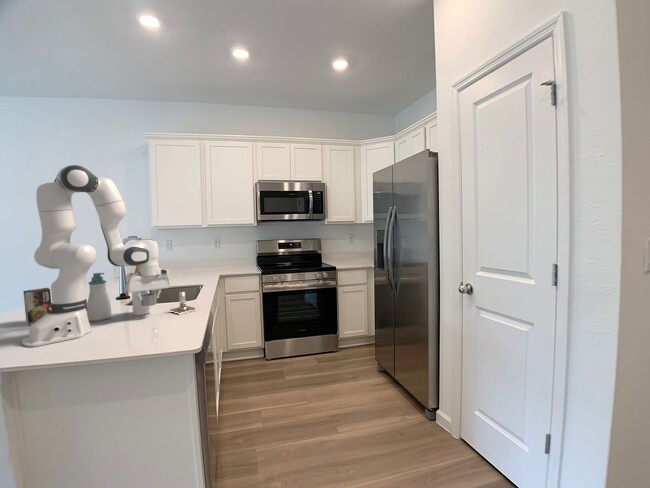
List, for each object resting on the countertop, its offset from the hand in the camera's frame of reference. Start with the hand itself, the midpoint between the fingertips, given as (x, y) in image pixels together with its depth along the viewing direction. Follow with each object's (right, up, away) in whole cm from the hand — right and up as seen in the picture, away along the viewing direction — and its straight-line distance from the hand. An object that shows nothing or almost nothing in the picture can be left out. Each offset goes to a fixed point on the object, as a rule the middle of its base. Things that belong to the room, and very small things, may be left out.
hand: (148, 299), depth 159 cm
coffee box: (-50, -11, -5) cm, 52 cm away
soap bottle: (-25, -10, 0) cm, 26 cm away
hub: (0, -3, 0) cm, 3 cm away
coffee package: (-72, -3, +122) cm, 142 cm away
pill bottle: (-8, -9, +8) cm, 14 cm away
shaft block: (+12, -8, +10) cm, 18 cm away
